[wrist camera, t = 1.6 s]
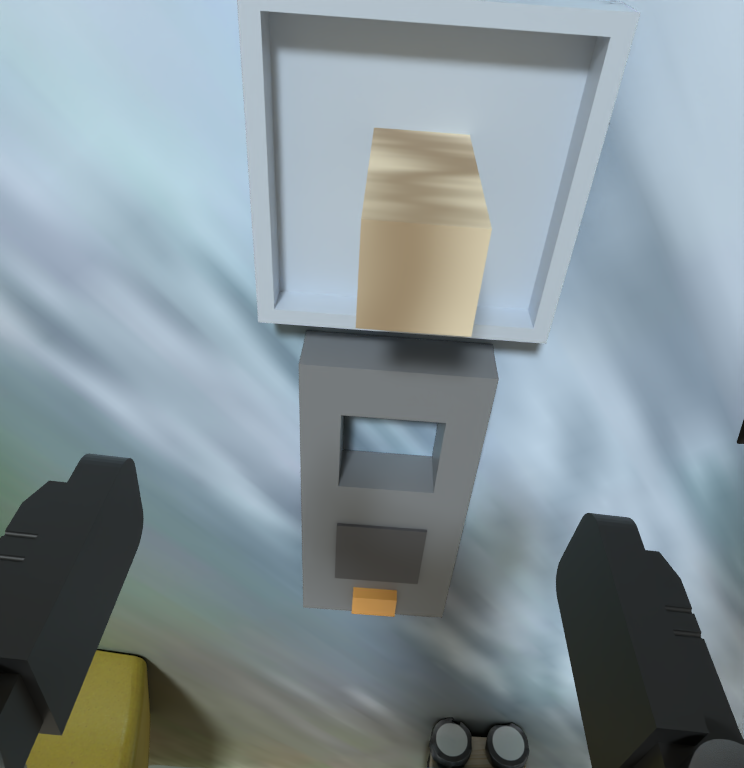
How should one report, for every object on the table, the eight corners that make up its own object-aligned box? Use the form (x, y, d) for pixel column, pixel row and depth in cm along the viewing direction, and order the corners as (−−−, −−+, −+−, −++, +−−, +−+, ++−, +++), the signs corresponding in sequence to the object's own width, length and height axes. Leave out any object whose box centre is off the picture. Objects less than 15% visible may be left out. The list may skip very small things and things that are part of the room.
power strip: (492, 344, 34) (500, 389, 31) (440, 581, 48) (442, 627, 45) (306, 330, 34) (296, 374, 31) (308, 571, 48) (301, 617, 45)
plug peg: (469, 134, 26) (492, 229, 19) (455, 224, 29) (471, 337, 22) (373, 127, 26) (360, 219, 19) (368, 217, 29) (355, 328, 22)
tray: (621, 1, 24) (640, 13, 22) (538, 315, 32) (546, 343, 30) (250, -27, 24) (235, -18, 22) (267, 295, 32) (258, 322, 30)
